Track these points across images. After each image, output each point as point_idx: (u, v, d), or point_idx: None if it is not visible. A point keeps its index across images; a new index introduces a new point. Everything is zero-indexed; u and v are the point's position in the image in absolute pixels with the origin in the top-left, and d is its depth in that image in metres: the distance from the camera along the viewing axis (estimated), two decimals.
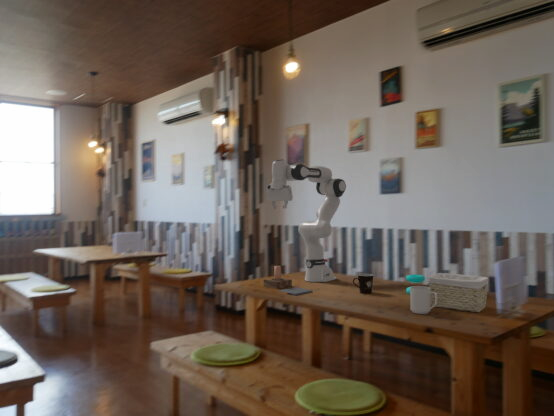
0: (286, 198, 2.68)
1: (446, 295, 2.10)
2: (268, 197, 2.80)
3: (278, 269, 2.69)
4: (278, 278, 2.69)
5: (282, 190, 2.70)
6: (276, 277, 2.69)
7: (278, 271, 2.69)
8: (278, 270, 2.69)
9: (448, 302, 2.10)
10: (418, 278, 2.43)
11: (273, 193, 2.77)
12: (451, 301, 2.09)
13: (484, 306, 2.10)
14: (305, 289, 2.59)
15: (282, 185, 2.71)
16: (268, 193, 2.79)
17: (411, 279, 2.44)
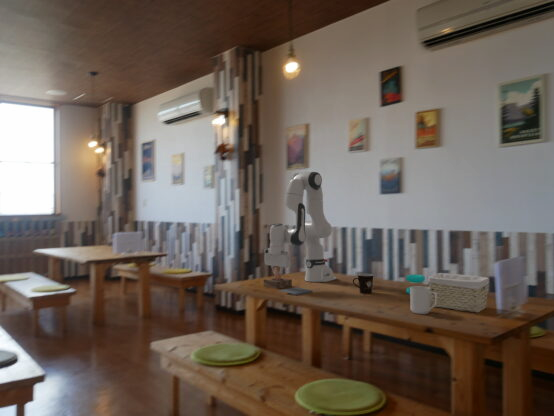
0: (284, 265, 2.63)
1: (446, 295, 2.10)
2: (266, 261, 2.76)
3: (278, 269, 2.69)
4: (278, 278, 2.69)
5: (280, 256, 2.66)
6: (276, 277, 2.69)
7: (278, 271, 2.69)
8: (278, 270, 2.69)
9: (448, 302, 2.09)
10: (418, 278, 2.43)
11: (271, 257, 2.73)
12: (451, 301, 2.09)
13: (484, 306, 2.10)
14: (305, 289, 2.59)
15: (280, 251, 2.67)
16: (266, 257, 2.75)
17: (411, 279, 2.44)
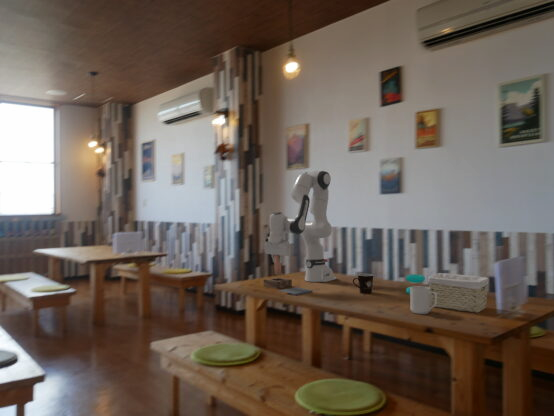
0: (284, 253, 2.64)
1: (446, 295, 2.10)
2: (266, 250, 2.76)
3: (278, 258, 2.69)
4: (278, 267, 2.69)
5: (280, 245, 2.66)
6: (276, 266, 2.69)
7: (278, 260, 2.69)
8: (278, 259, 2.69)
9: (448, 302, 2.09)
10: (418, 278, 2.43)
11: (271, 246, 2.73)
12: (451, 301, 2.08)
13: (484, 306, 2.10)
14: (305, 289, 2.59)
15: (280, 239, 2.67)
16: (266, 245, 2.75)
17: (411, 279, 2.44)
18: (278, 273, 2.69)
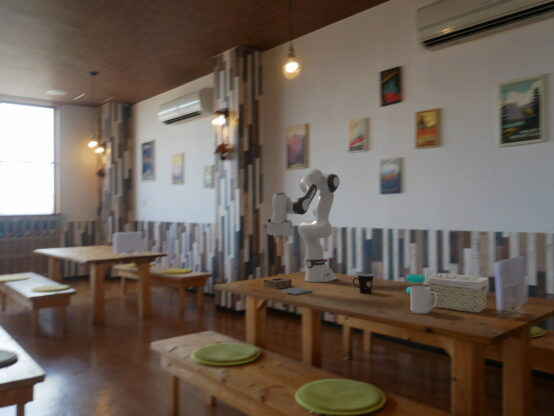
0: (287, 233, 2.60)
1: (446, 295, 2.09)
2: (269, 231, 2.73)
3: (281, 238, 2.66)
4: (281, 247, 2.66)
5: (283, 225, 2.63)
6: (279, 246, 2.66)
7: (280, 240, 2.66)
8: (281, 239, 2.66)
9: (448, 302, 2.09)
10: (418, 278, 2.43)
11: (274, 227, 2.70)
12: (451, 301, 2.08)
13: (484, 307, 2.09)
14: (305, 289, 2.59)
15: (283, 219, 2.64)
16: (269, 226, 2.72)
17: (411, 279, 2.44)
18: (280, 254, 2.66)
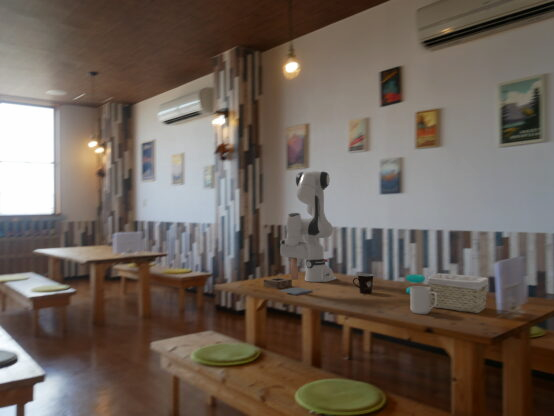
0: (302, 256, 2.49)
1: (445, 296, 2.09)
2: (282, 252, 2.62)
3: (295, 261, 2.55)
4: (295, 270, 2.55)
5: (298, 247, 2.52)
6: (293, 269, 2.55)
7: (295, 263, 2.55)
8: (295, 262, 2.55)
9: (447, 303, 2.08)
10: (418, 278, 2.43)
11: (287, 249, 2.59)
12: (451, 302, 2.07)
13: (484, 307, 2.09)
14: (305, 289, 2.59)
15: (297, 241, 2.53)
16: (282, 248, 2.61)
17: (411, 279, 2.44)
18: (295, 277, 2.55)
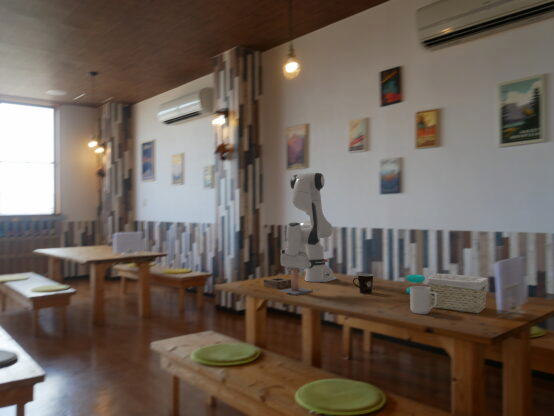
0: (302, 266, 2.49)
1: (445, 296, 2.08)
2: (282, 262, 2.62)
3: (295, 272, 2.55)
4: (295, 282, 2.55)
5: (298, 257, 2.52)
6: (293, 281, 2.55)
7: (295, 274, 2.55)
8: (295, 273, 2.55)
9: (447, 303, 2.08)
10: (418, 278, 2.43)
11: (288, 258, 2.59)
12: (451, 302, 2.07)
13: (483, 307, 2.09)
14: (305, 289, 2.59)
15: (298, 251, 2.53)
16: (282, 257, 2.61)
17: (411, 279, 2.44)
18: (295, 288, 2.55)
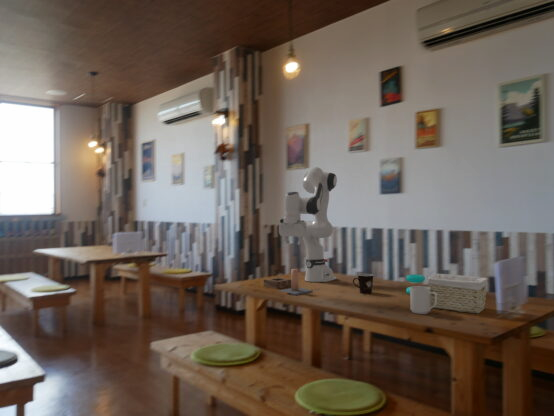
0: (301, 234, 2.50)
1: (445, 296, 2.07)
2: (281, 231, 2.63)
3: (295, 272, 2.55)
4: (295, 282, 2.55)
5: (296, 226, 2.53)
6: (293, 281, 2.55)
7: (295, 274, 2.55)
8: (295, 273, 2.55)
9: (447, 303, 2.07)
10: (418, 278, 2.43)
11: (286, 227, 2.59)
12: (451, 302, 2.06)
13: (483, 307, 2.09)
14: (305, 289, 2.59)
15: (296, 220, 2.54)
16: (281, 227, 2.62)
17: (411, 279, 2.44)
18: (295, 288, 2.55)
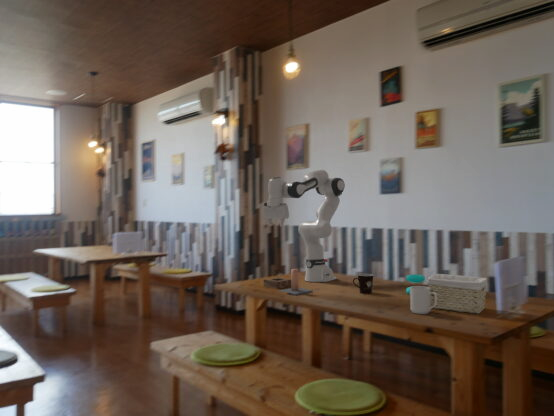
0: (282, 216, 2.68)
1: (445, 296, 2.07)
2: (265, 214, 2.81)
3: (295, 272, 2.55)
4: (295, 282, 2.55)
5: (279, 208, 2.71)
6: (293, 281, 2.55)
7: (295, 274, 2.55)
8: (295, 273, 2.55)
9: (448, 303, 2.06)
10: (418, 278, 2.43)
11: (270, 210, 2.77)
12: (451, 302, 2.06)
13: (483, 307, 2.08)
14: (305, 289, 2.59)
15: (278, 203, 2.72)
16: (265, 210, 2.80)
17: (411, 279, 2.44)
18: (295, 288, 2.55)
